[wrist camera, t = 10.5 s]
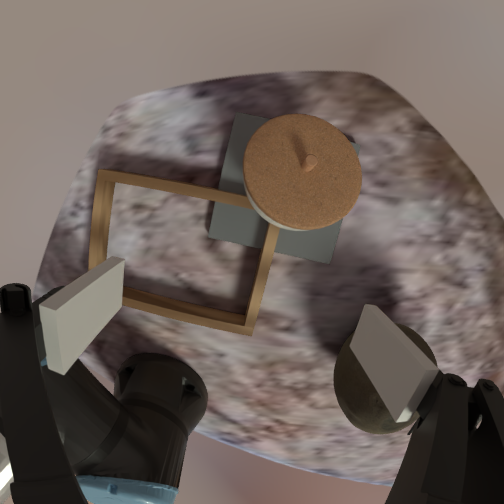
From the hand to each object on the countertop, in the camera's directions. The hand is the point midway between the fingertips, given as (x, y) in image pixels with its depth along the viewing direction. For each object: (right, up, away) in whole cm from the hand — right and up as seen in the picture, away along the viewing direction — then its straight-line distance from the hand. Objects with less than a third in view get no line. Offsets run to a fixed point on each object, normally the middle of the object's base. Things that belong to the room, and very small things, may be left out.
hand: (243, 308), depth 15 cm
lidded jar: (+4, +10, +17) cm, 20 cm away
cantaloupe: (+18, -11, +25) cm, 33 cm away
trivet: (+4, +10, +19) cm, 22 cm away
